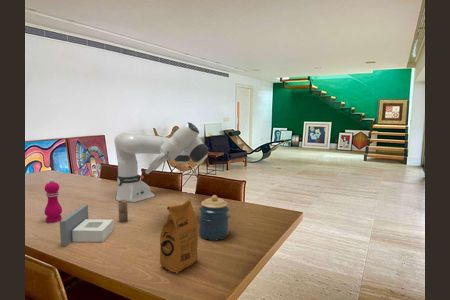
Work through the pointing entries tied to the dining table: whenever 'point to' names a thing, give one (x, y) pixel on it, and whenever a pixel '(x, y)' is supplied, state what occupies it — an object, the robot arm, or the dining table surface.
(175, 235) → the coffee package
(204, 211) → the canister
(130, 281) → the dining table surface
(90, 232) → the white socket block
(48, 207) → the pepper mill
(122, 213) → the walnut dowel
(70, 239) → the slate backstop wall
